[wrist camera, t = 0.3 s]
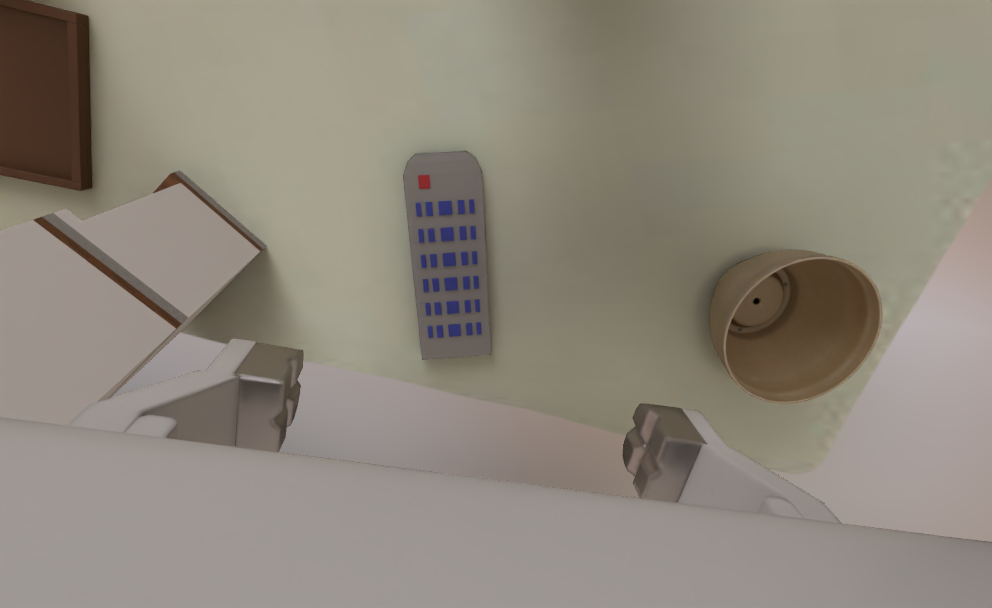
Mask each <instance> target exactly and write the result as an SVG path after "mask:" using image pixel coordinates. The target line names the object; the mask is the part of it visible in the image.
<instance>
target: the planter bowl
mask: <svg viewBox="0 0 992 608" xmlns="http://www.w3.org/2000/svg"><path fill="white" fill-rule="evenodd" d="M755 298H758V299H759V302H758V303H757V304H754V302H753V300H754V299H755ZM881 323H882V302H881V298H880V295H879V292H878V290H877V287H876V285H875V284H874V282H873V281H872V279H871V278H870V277H869V276H868V275H867V274H866V273H865V272H864V271H863V270H862V269H861V268H859V267H858V266H856V265H854V264H853V263H850V262H848V261H846V260H843V259H840V258H837V257H833V256H826V255H823V254H819V253H816V252H811V251H804V250H779V251H773V252H768V253H764V254H761V255H758V256H756V257H753V258H751V259H748V260H745V261H743V262H740V263H738V264H736V265H735V266H733V267H732V268H730V269H729V270H728V271H727V272H726V273H725V274H724V275H723V276H722V277H721V278H720V280H719V281H718V283H717V285H716V287H715V289H714V292H713V296H712V304H711V308H710V315H709V327H710V334H711V338H712V342H713V345H714V348H715V350H716V352H717V354H718V356H719V358H720V360H721V362H722V363H723V365H724V366H725V367H726V369H727V371H728V373H729V375H730V376H731V378H732V379H733V380H734V381H735V383H736V384H737V385H738V386H739V387H740V388H741V389H743V390H744V391H745V392H747V393H748V394H750V395H751V396H753V397H756V398H758V399H760V400H764V401H768V402H773V403H797V402H802V401H807V400H810V399H813V398H816V397H819V396H821V395H823V394H825V393H827V392H829V391H831V390H833V389H835V388H836V387H838V386H839V385H841V384H842V383H843V382H845V381H846V380H847V379H849V378H850V377H851V376H852V375H853V374H854V373H855V372H856V371H857V370H858V369H859V368H860V366H861V365H862V364H863V363H864V361H865V360H866V359H867V357H868V356H869V354H870V352H871V350H872V349H873V347H874V345H875V343H876V340H877V338H878V336H879V332H880V329H881Z"/></svg>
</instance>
